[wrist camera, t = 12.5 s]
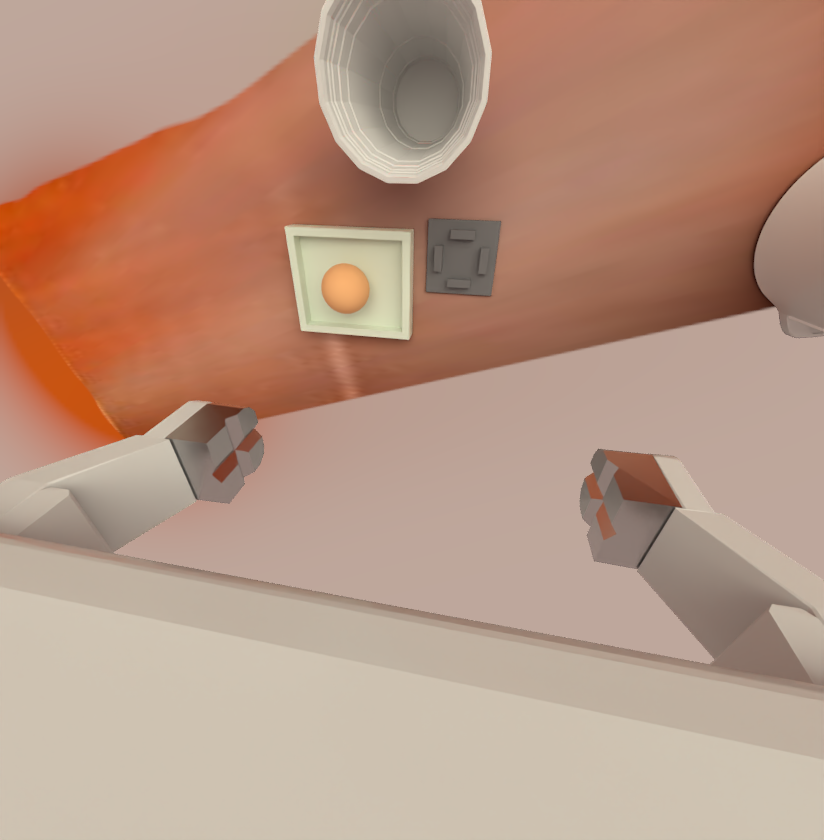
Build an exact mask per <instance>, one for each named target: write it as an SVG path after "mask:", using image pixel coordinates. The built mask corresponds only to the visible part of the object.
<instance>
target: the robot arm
mask: <svg viewBox="0 0 824 840" xmlns="http://www.w3.org/2000/svg"><path fill="white" fill-rule="evenodd" d="M754 271H755V277H756V281H757V283H758V286H759V288H760V290H761V291H762V293H763V294H764V295H765V296H766V297H767V298H768V299H769V300H770V301H771V302H772V303H773V304H774V305H775V307H776V308H777V310H778V311H779V319H780V324H781V328H782V330H783V332H784V333H785V334H787V335H789V336H792V337H795V338H806V337H817V336H824V158H823V159H821V160H820V161H819V162H818V163H816V164H815V165H814V166H813V167H812V168H810V169H809V170H808V171H807V172H806V173H805V174H804V175H803V176H801V177H800V178H799V179H798V180H797V181H796V182H795V183H794V185H793V186H792V187H791V188H790V189H789V190H788V191H787V192H786V194H785V195H784V196H783V197H782V198H781V200H780V201H779V202H778V204H777V205H776V207H775V208H774V210H773V211H772V213H771V214H770V216H769V218H768V220H767V221H766V223H765V225H764V227H763V230H762V232H761V234H760V237H759V240H758V243H757V247H756V251H755V257H754ZM257 423H258V420H257V417H256V414H255V411H254V410H252V409H251V408H249V407H243V406H236V405H229V404H222V403H215V402H214V403H212V402H207V401H198V400H195V401H189V402H187V403H186V404H185V405H183V406H182V407H181V408H179V409H178V410H177V411H175V412H174V413H172V414H171V415H170V416H168V417H167V418H166V419H164V420H163V421H162V422H160V423H159V424H158V425H156V426H155V427H154V428H152V429H151V430H150V431H148V432H147V433H146V434H144V435H143V436H140V435H136V436H133V437H130V438H127V439H124V440H121V441H118V442H115V443H112V444H109V445H106V446H103V447H100V448H97V449H94V450H91V451H88V452H85V453H82V454H79V455H76V456H73V457H70V458H67V459H64V460H62V461H58V462H55V463H53V464H49V465H46V466H43V467H40V468H37V469H35V470H31V471H28V472H25V473H23V474H20V475H17V476H14V477H11V478H8V479H7V480H5V481H4V482H2V483H0V840H824V580H822V579H821V578H819V577H818V576H816V575H815V574H813V573H812V572H810V571H809V570H807V569H806V568H804V567H803V566H801V565H800V564H798V563H797V562H795V561H794V560H792V559H791V558H789V557H787V556H786V555H784V554H783V553H782V552H780V551H779V550H777V549H775V548H774V547H773V546H771V545H770V544H768V543H767V542H765V541H763V540H762V539H760V538H759V537H757V536H756V535H754V534H753V533H751V532H750V531H748V530H747V529H745V528H743V527H742V526H741V525H739V524H738V523H736V522H734V521H733V520H732V519H730V518H729V517H727V516H726V515H724V514H719V513H715V512H714V511H713V509H712V508H711V506H710V505H709V503H708V502H707V500H706V499H705V498H704V496H703V494H702V493H701V491H700V490H699V488H698V487H697V485H696V484H695V482H694V481H693V479H692V478H691V476H690V475H689V473H688V472H687V470H686V469H685V467H684V466H683V464H682V463H681V461H680V460H679V459H678V458H676V457H674V456H668V455H656V454H640V453H631V452H622V451H612V450H603V449H598V450H597V451H596V453H595V454H594V456H593V458H592V461H591V466H592V469H593V473H592V474H590V475H589V476H587V477H586V478H585V479H584V482H583V485H582V488H581V494H580V510H581V514H582V518H583V519H584V521H586V523H587V524H589V525H590V526H591V527H590V529H589V531H588V534H587V537H588V541H589V544H590V548H591V552H592V555H593V559H594V561H597V562H602V563H607V564H612V565H618V566H624V567H629V568H634V569H638V570H637V572H638V573H639V574H640V575H641V576H642V577H643V578H644V580H645V581H646V582H647V583H648V584H649V585H650V586H651V587H652V589H653V590H654V591H655V592H656V593H657V594H658V595H659V597H660V598H661V599H662V600H663V601H664V602H665V603H666V605H667V606H668V607H669V608H670V609H671V610H672V611H673V612H674V614H675V615H676V616H677V617H678V618H679V619H680V620H681V621H682V623H683V624H684V625H685V626H686V627H687V628H688V630H689V631H690V632H691V633H692V634H693V635H694V636H695V637H696V639H697V640H698V641H699V642H700V643H701V644H702V645H703V646H704V648H705V649H706V650H707V651H708V652H709V653H710V654H711V655H712V657H713V658H714V659H715V660H714V661H713V662H712V663H711V664H704V663H699V662H694V661H689V660H683V659H678V658H672V657H667V656H661V655H656V654H651V653H646V652H640V651H635V650H630V649H624V648H619V647H613V646H608V645H603V644H597V643H591V642H587V641H581V640H576V639H570V638H565V637H560V636H554V635H549V634H543V633H538V632H532V631H527V630H522V629H516V628H511V627H505V626H500V625H495V624H489V623H483V622H478V621H473V620H468V619H462V618H457V617H451V616H445V615H440V614H434V613H429V612H424V611H419V610H413V609H408V608H402V607H397V606H391V605H386V604H380V603H376V602H370V601H365V600H359V599H354V598H349V597H343V596H338V595H333V594H328V593H322V592H317V591H312V590H306V589H301V588H296V587H290V586H285V585H280V584H274V583H269V582H263V581H258V580H253V579H248V578H242V577H237V576H231V575H226V574H220V573H215V572H210V571H205V570H199V569H194V568H189V567H183V566H177V565H173V564H167V563H162V562H156V561H151V560H146V559H140V558H135V557H129V556H124V555H118V554H114V553H113V552H114V551H116V550H118V549H119V548H121V547H123V546H124V545H126V544H127V543H129V542H131V541H132V540H134V539H136V538H137V537H139V536H141V535H142V534H144V533H145V532H147V531H148V530H150V529H152V528H154V527H155V526H157V525H158V524H160V523H162V522H163V521H165V520H167V519H168V518H170V517H171V516H173V515H175V514H176V513H178V512H180V511H181V510H183V509H185V508H186V507H188V506H189V505H191V504H192V503H194V502H196V499H197V500H205V501H212V502H220V503H230V502H231V501H232V499H233V498H234V497H235V496H236V494H237V493H238V492H239V491H240V489H241V488H242V487H243V486H244V484H245V483H244V477H245V476H247V475H249V474H251V473H253V472H255V470H256V469H257V468H258V466H259V465H260V463H261V460H262V457H263V454H264V444H263V439H262V436H261V435H260V434H259V433H258V432H257V431H256V430H255V429H254V428H255V426H256V425H257Z"/></svg>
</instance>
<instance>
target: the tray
mask: <svg viewBox="0 0 824 840" xmlns="http://www.w3.org/2000/svg"><path fill="white" fill-rule="evenodd" d="M285 233H286V239H287V245H288V251H289V258H290V264H291V270H292V276H293V283H294V289H295V295H296V301H297V308H298V314H299V320H300V326H301V331H311V332H322V333H334V334H346V335H358V336H370V337H382V338H394V339H406V340H409V339H410V337H411V335H412V319H413V260H414V229H398V228H374V227H351V226H327V225H303V224H292V225H288V226H285ZM341 263H347V264H351V265H354V266H356V267H358V268H359V269H360V270H361V271H362V272H363V273H364V274H365V276H366V277H367V280H368V282H369V287H370V292H369V298H368V300H367V302H366V304H365V305H364V306H363V307H362V308H361V309H360V310H359V311H357V312H354V313H351V314H343V313H339V312H337V311H335V310H333V309H332V308H331V307H330V306H329V305H328V304H327V303H326V301H325V300H324V298H323V295H322V290H321V284H322V279H323V277H324V275H325V273H326V272H327V271H328V270H329V269H330V268H331V267H332V266H334V265H337V264H341Z"/></svg>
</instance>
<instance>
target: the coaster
mask: <svg viewBox="0 0 824 840" xmlns="http://www.w3.org/2000/svg"><path fill="white" fill-rule="evenodd" d="M500 226H501V221H481V220H455V219H429V225H428V252H427V279H426V292H440V293H455V294H470V295H485V296H491V293H492V285H493V278H494V271H495V263H496V256H497V248H498V241H499V234H500Z"/></svg>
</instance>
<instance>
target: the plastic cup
mask: <svg viewBox="0 0 824 840" xmlns="http://www.w3.org/2000/svg"><path fill="white" fill-rule="evenodd" d="M491 57H492V50H491V46H490V41H489V36H488V31H487V26H486V21H485V16H484V12H483V7H482V2H481V0H326V2H325V4H324V6H323V8H322V10H321V16H320V22H319V28H318V35H317V41H316V47H315V53H314V63H315V71H316V79H317V88H318V96H319V104H320V106H321V108H322V111H323V113H324V116H325V118H326V120H327V123H328V125H329V127H330V130H331V132H332V134H333V137H334V139H335V142H336V143H337V144H338V145H339V146H340V147H341V149H342V150H343V151H344V152H345V153H346V154H347V155H348V157H349V158H350V159H351V160H352V161H353V162H354V163H355V165H356V166H357V167H358V168H359V169H360V170H362V171H364V172H366V173H368V174H370V175H372V176H374V177H376V178H378V179H380V180H382V181H384V182H386V183H407V184H418V183H420V182H422V181H424V180H426V179H428V178H430V177H432V176H434V175H436V174H439V173H441V172H443V171H445V170H446V169H447V168H448V167H449V166H450V165H451V164H452V163H453V161H454V160H455V159H456V158H457V157H458V156H459V155H460V154H461V152H462V151H463V150H464V149H465V148H466V147H467V146H468V145H469V143H470V142H471V140H472V138H473V135H474V133H475V130H476V128H477V125H478V123H479V121H480V118H481V116H482V113H483V111H484V108H485V106H486V104H487V99H488V89H489V78H490V68H491Z"/></svg>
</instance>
